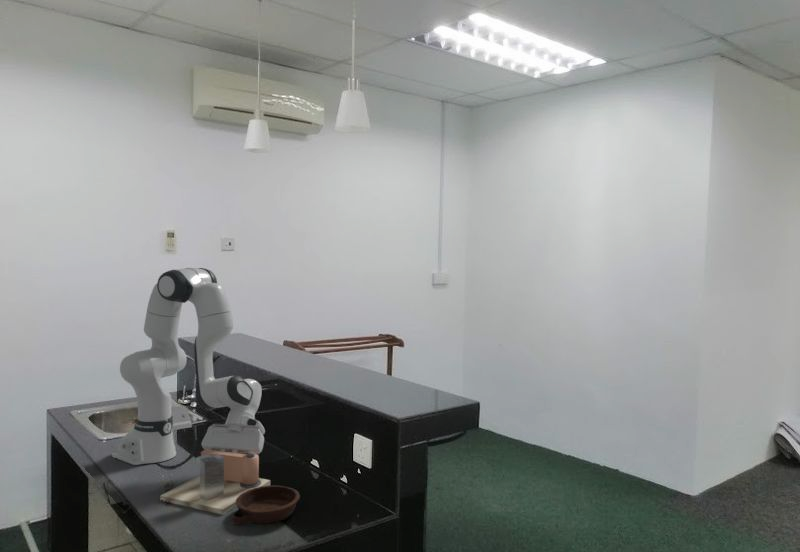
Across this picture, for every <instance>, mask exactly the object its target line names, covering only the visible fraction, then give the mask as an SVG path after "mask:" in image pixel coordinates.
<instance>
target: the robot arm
mask: <svg viewBox="0 0 800 552" xmlns="http://www.w3.org/2000/svg"><path fill="white" fill-rule="evenodd" d="M187 302H190V303H192V305H193V306H194V308H195V312H196V317H197V325H198V326H197V328H198V329H197V335H196V337H195V339H194V343H193V345H194V346H193V347H194V348H193V350H194V364H195V366H194V368H195V381H196V382H195V394H194V395H195V401H196V403H197V405H198V406H199V407H201V408H202V409H203V410H206V411H212V410H213V411H214V410H216V409H219V408H225V407H228V408H230V411H229V412H228V415H227V418H226V421H225V423H213V424H211V425H210V426H208V428H207V430H206V433H205V435H204V437H203V439H202V441H201V447H202V448H203V449H202V450H203V451H204V450H205V449H206V450H214V451H222V452H230V453H238V454H246V455H247V452H255V454H257V455H259V454H260V453H262V451H263V449H264V444H265V437H264V435H265V433H266V430H265V427H264V426H263V424H262V423H261V422H260V421H259V420H257V419H256V417H255V415H256V412H257V411H258V409H259V407H260V404H261V399H262V395H263V394H262V392H263V391H262V390H263V388H262V387H263V386H262V385H261V384H260V382H258V381H257V380H255V379H252V378H243V377H242V376H240V375H230V376H224V377H220V378H215V376H214V374H215V373H214V361H213V357H214V356H213V355H214V352H215V349H216V348H217V347H218V346H219V345H220V344H221V343H222V342H224V341H225V340H226V339H227V338H228V337H229V336H230V335H231V333H232V331H233V327H234V321H233V315H232V311H231V307H230V303H229V299H228V297H227V294H226V292H225V289H224V287H223V286H222V284H219V283H218V281H217V277H216V275H215V273H214V272H213V271H211V270H209V269H208V268H203V267H198V268H197V267H186V268H181V269H171V270H168V271H165V272H163V273H162V274H161V275H159V277H158V279H157V283H155V285H154V286H153V288H152V290H151V294H150V296H149V299H148V303H147V307H146V313H145V319H144V324H143V325H144V326H143V332H144V334H145V335H146V336H147V337H148V338H149V339H150V340H151V347H150V348H149V349H143V350H138V351H135V352H133V353H131V354H129V355H126V356H125V357H123V359H122V360H121V362H120V364H119V373H120V375H121V377H122V378H123V380H124V382H126V383H128V384H129V385H131V387H132V389H133V390H134V393H135V396H136V401H137V418H135V419H132V422H131V424H134V426H133V429H131V430H130V431H129V432H128V433H126V434H125V435H124V436H122V437H121V439H120V440H119V441H120V442H119V447H118V449H117V450H115V451H113V452H112V454H111V457H112V458H114V459H116V458H117V460H120V461H122V462H125V463H128V464H130V465H132V466H139V465H144V464H156V463H161V462H165V461H168V460H170V459H171V460H172V458H175V456H177V451H176V448H177V447H176V445H175V441H174V439H175V438H174V432H173V431H174V430H172V426H173V416H172V415H171V406H172V395H171V394H170V392H169V391H167V390H166V389H164V388H163V387H162V382H161V379H163V378H166V377H170V376H174V375H176V374H177V373H179V372H180V371H182V370H184V369H185V368H186V365H187V361H188V360H187V359H188V358H187V353H186V352H185V351H184V349H183V348H181V347H180V343H179V340H178V332H179V331H178V330H179V324H180V317H181V312H182V306H183V303H184V304H185V303H187Z"/></svg>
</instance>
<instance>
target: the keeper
mask: <svg viewBox="0 0 800 552" xmlns="http://www.w3.org/2000/svg"><path fill="white" fill-rule="evenodd" d="M196 465H198V466H199V476H200V498H202V499H203V500H209V499H212V498H215V497H218V496H221V495H224V457H223V456H221V455H219V454H218V455H214V456H212V455H210V454H207V455H203V456H201V455H200V456H196Z"/></svg>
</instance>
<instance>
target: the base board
mask: <svg viewBox="0 0 800 552" xmlns="http://www.w3.org/2000/svg"><path fill="white" fill-rule="evenodd" d="M261 486H271V480H270V479H266V478H261V477H259V482H258V483H256V484H253V485H245V484H243V483H242V482H236V481H229V480H224V495H221V496H218V497H215V498H212V499H209V500H203V499H202V498H200V475H198V476H196V477H194V478H192V479H190V480H188V481H186V482H183V483H182V484H180V485H178V486H175V488H172V489H171V490H168V491H166V492H164V493H162V494H160V496H159V499H160V501H161V500H163V501H162V502H165V501H166V502H165V503H169V502H170V504H173V505H178V506H183V507H186V508H187V507H188V508H192V509H196V510H200V511H205V512H209V513H214V514H219V515H221V516H222V515H225V514H227V513H228V512H229V511H231V510H233V509H235V508H236V507H237V505H236V499H237V497H238V496H239V495H241V494H242V493H244V492H246V491H248V490H250V489H253V488H257V487H261Z"/></svg>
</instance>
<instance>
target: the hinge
mask: <svg viewBox="0 0 800 552" xmlns="http://www.w3.org/2000/svg"><path fill="white" fill-rule="evenodd" d="M171 415H172V416H173V426H172V430H173V431H177V430H183V429H188V428H189V429H190V428H193V424H192V421H191V416H190V414H189V408H188V407H186V406H179V405H171Z"/></svg>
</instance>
